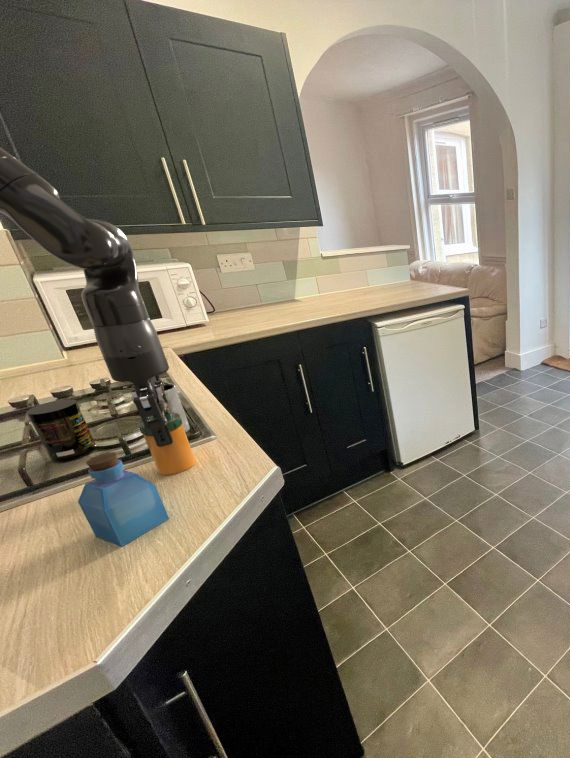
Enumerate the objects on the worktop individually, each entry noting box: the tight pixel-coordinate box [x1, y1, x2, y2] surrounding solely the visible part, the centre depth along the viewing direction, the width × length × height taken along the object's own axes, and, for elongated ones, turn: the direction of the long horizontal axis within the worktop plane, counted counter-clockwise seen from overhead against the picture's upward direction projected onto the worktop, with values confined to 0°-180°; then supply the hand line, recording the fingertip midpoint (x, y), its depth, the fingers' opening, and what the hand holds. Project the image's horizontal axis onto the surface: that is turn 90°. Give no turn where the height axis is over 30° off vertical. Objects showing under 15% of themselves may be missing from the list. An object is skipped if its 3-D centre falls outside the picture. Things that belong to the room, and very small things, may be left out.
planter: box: [163, 383, 191, 433], centre depth 89 cm, size 4×4×10 cm
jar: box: [142, 425, 197, 476], centre depth 76 cm, size 6×6×9 cm
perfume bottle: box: [77, 451, 170, 548], centre depth 60 cm, size 6×6×12 cm
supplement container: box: [26, 398, 97, 463], centre depth 81 cm, size 7×7×10 cm
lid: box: [138, 413, 182, 435], centre depth 74 cm, size 6×6×2 cm
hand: (166, 437), depth 75 cm, fingers closed on lid, 5 cm apart
